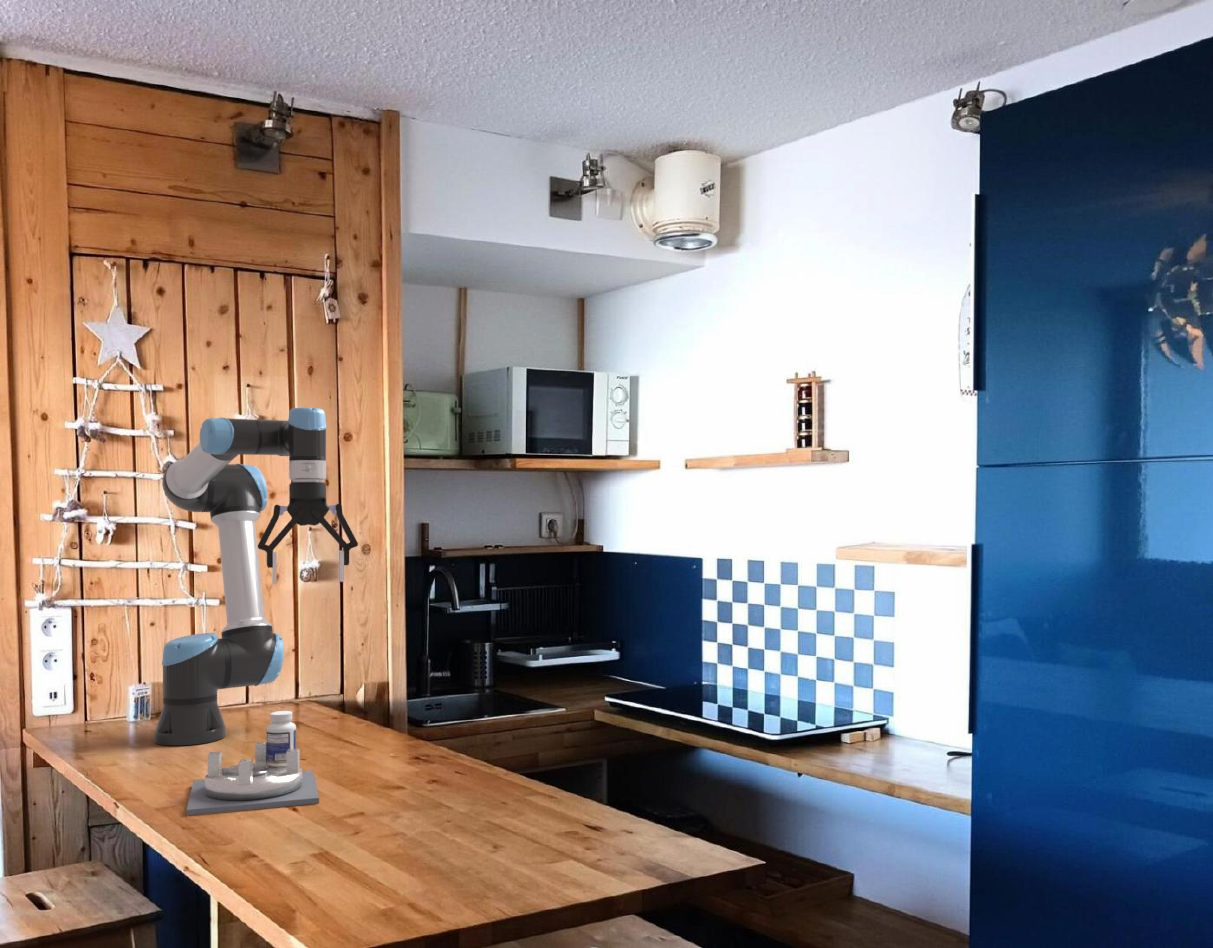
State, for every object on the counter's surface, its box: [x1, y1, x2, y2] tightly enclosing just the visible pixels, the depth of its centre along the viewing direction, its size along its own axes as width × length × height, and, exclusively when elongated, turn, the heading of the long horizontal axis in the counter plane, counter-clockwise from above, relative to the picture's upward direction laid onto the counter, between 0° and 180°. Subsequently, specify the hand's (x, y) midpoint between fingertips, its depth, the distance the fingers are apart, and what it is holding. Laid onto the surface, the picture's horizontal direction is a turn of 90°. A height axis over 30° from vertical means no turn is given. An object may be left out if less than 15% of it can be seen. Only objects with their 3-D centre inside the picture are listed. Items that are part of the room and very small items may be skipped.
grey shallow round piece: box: [204, 741, 303, 800], centre depth 202 cm, size 17×17×6 cm
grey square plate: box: [186, 770, 320, 817], centre depth 202 cm, size 21×22×1 cm
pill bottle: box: [266, 710, 297, 767], centre depth 209 cm, size 5×5×10 cm
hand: (308, 582), depth 231 cm, fingers open, 13 cm apart
